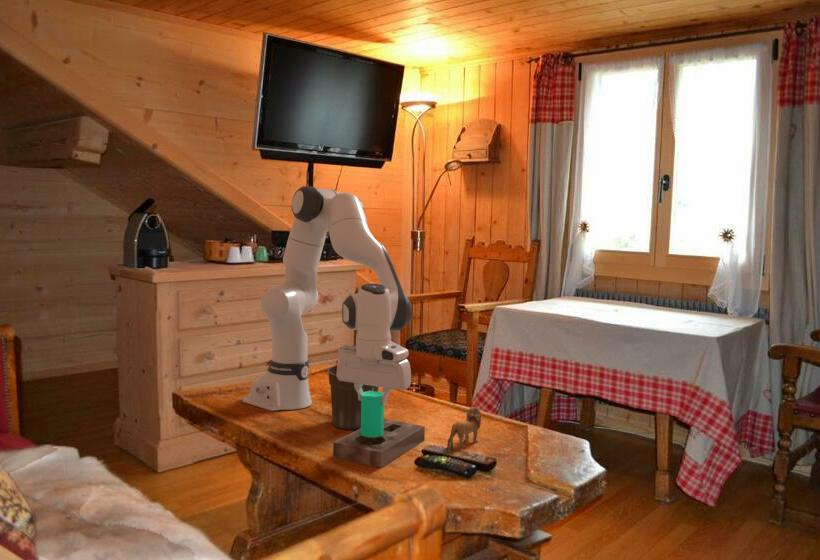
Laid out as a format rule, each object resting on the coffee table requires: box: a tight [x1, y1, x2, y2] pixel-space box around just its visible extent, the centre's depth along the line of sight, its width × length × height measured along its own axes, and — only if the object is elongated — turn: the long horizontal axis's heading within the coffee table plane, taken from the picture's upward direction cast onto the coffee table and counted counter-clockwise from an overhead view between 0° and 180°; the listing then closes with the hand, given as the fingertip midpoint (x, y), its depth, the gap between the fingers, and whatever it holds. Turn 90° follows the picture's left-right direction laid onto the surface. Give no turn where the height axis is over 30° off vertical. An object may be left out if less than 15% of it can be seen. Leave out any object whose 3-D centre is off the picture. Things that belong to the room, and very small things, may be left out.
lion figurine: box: [446, 406, 482, 450], centre depth 188 cm, size 15×5×9 cm, turn 149°
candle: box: [361, 391, 385, 437], centre depth 177 cm, size 6×6×12 cm
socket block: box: [332, 418, 426, 469], centre depth 183 cm, size 14×24×4 cm, turn 153°
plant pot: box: [326, 364, 380, 431], centre depth 202 cm, size 16×16×16 cm
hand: (372, 402), depth 177 cm, fingers closed on candle, 5 cm apart
